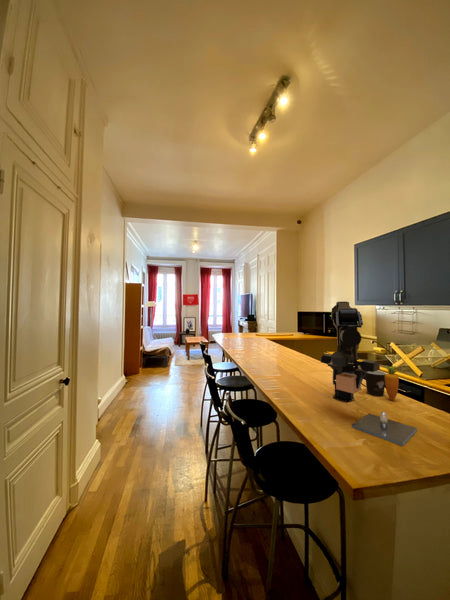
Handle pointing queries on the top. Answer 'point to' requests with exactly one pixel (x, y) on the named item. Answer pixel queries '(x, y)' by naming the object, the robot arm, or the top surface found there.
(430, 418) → the top surface
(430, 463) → the top surface
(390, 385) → the carrot
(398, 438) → the pin plate
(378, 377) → the coffee mug
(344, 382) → the socket block
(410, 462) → the top surface
